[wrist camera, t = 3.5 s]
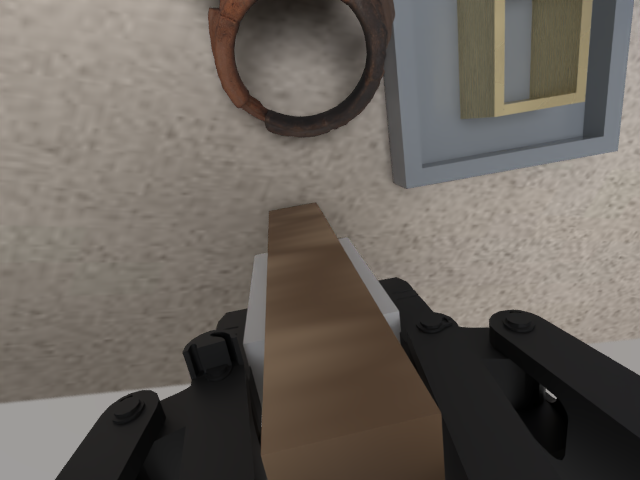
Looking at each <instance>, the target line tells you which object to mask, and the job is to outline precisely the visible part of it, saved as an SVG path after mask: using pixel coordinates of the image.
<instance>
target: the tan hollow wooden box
mask: <svg viewBox="0 0 640 480" xmlns="http://www.w3.org/2000/svg"><path fill="white" fill-rule="evenodd" d="M592 3H593V0H532V28H531V63H530V97H529V99H523V100H518V101H512V102H506V103H504V66H505V0H457V18H458V51H459V85H460V119H470V118H487V117H498V116H504V115H510V114H515V113H521V112H527V111H533V110H539V109H545V108H551V107H556V106H562V105H568V104H574V103H580V102H585V95H586V82H587V68H588V55H589V42H590V29H591V16H592Z"/></svg>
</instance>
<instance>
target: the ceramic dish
mask: <svg viewBox="0 0 640 480" xmlns="http://www.w3.org/2000/svg"><path fill="white" fill-rule="evenodd" d="M393 2H394V8H395V18H394V21H393V23H392V34H391V39H390V41H389V43H388V47H387V49H386V58H385V61H384V68H383V69H384V71H385V73H384V86H385V97H386V108H387V118H388V129H389V140H390V151H391V162H392V173H393V183H395V184H398V185H400V186H402V187H404V188H406V189H408V188H414V187H419V186H425V185H430V184H436V183H442V182H447V181H453V180H458V179H464V178H469V177H475V176H481V175H486V174H492V173H497V172H503V171H508V170H514V169H519V168H525V167H531V166H536V165H542V164H547V163H553V162H558V161H564V160H570V159H575V158H581V157H586V156H592V155H597V154H603V153H609V152H614V151H618V144H619V134H620V125H621V116H622V106H623V97H624V88H625V79H626V69H627V60H628V51H629V42H630V32H631V23H632V14H633V5H634V0H593V3H592V16H591V29H590V42H589V55H588V68H587V82H586V95H585V102H580V103H574V104H568V105H562V106H556V107H551V108H545V109H539V110H533V111H527V112H521V113H515V114H510V115H504V116H498V117H487V118H470V119H460V85H459V51H458V18H457V0H393ZM531 28H532V0H505V66H504V103H506V102H512V101H518V100H523V99H529V97H530V63H531Z"/></svg>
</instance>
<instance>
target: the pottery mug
mask: <svg viewBox="0 0 640 480" xmlns="http://www.w3.org/2000/svg"><path fill="white" fill-rule="evenodd" d="M257 1H258V0H220V7H219V8H209V12H208V20H209V34H210V38H211V47H212V52H213V56H214V59H215V65H216V69H217V73H218V76H219V79H220V81H221V84H222V87H223V89H224V90H225V92H226V93H227V95H228V96H229V98H230V99H231V101H232V102H233V103H234V105H235V106H236V107H237V108H242V109H244V110H245V111H246V112H248V113H249V114H251V115H253V116H254V117H256V118H258V119H260V120H263V121H265V125H266V128H267V129H268V131H270V132H272V133H275V134H280V135H283V136H294V137H313V136H317V135H321V134H324V133H328V132H329V131H330V130H332V129H337V128H339V127H341V126H344V125H346V124H347V123H348V122H349V121H351V120H352V119H353V118H355V117H356V116H357V115H359V114H360V113H361V112H362V111H363V110H364V109H365V107H366V106H367V104H368V103H369V102H370V101H371V99H372V98H373V96H374V94H375V92H376V90H377V89H378V87H379V85H380V80H381V78H382V76H383V75H384V73H385V71H384V69H383V68H384V61H385V58H386V49H387V47H388V43H389V41H390V39H391V34H392V23H393V21H394V18H395V8H394V2H393V0H341V1H342V2H344V3H345V4H346V5H348V6H349V7H350V8H351V9H352V11H353V12H354V14H355V15H356V17H357V18H358V20H359V22H360V24H361V26H362V29H363V32H364V35H365V41H366V51H367V57H366V65H365V69H364V71H363V74H362V76H361V79H360V81H359V82H358V84H357V86H356V87H355V89H354V90H353V92H352V93H351V94H350V95H349V96H348V97H347V98H346V99H345V100H344V101H343V102H342V103H340V104H339V105H338V106H336V107H334V108H332V109H330V110H328V111H326V112H323V113H320V114H317V115H312V116H304V117H301V116H300V117H296V116H289V115H284V114H280V113H277V112H275V111H272V110H268V109H266V108H265V107H263V106H262V104H261V103H260V101H258V100H257V99H255V98H253V97H252V96H250V95H249V91H248V90H247V88H246V87H245V86H244V84H243V82H242V80H241V78H240V76H239V73H238V71H237V67H236V63H235V53H234V47H235V38H236V34H237V32H238V29H239V24H240V21H241V19H242V18H243V16H244V15H245V13H246V12H247V11H248V10H249V8H250V7H251V6H252V5H253V4H254V3H255V2H257Z"/></svg>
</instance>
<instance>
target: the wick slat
mask: <svg viewBox="0 0 640 480" xmlns="http://www.w3.org/2000/svg"><path fill="white" fill-rule="evenodd" d="M261 458H262V462H263V465H264V469H265V472H266V476H267V479H268V480H445V469H444V451H443V434H442V417H441V411H440V410H439V408H438V406H437V405H436V403H435V401H434V400H433V398H432V396H431V395H430V393H429V391H428V390H427V388H426V386H425V385H424V383H423V381H422V380H421V378H420V376H419V375H418V373H417V371H416V369H415V368H414V366H413V364H412V363H411V361H410V359H409V358H408V356H407V354H406V353H405V351H404V349H403V348H402V346H401V344H400V343H399V341H398V339H397V338H396V336H395V334H394V332H393V331H392V329H391V327H390V326H389V324H388V322H387V321H386V319H385V317H384V316H383V314H382V312H381V311H380V309H379V307H378V306H377V304H376V302H375V301H374V299H373V297H372V295H371V294H370V292H369V290H368V289H367V287H366V285H365V284H364V282H363V280H362V279H361V277H360V275H359V274H358V272H357V270H356V269H355V267H354V265H353V264H352V262H351V260H350V259H349V257H348V255H347V253H346V252H345V250H344V248H343V247H342V245H341V243H340V242H339V240H338V238H337V237H336V235H335V233H334V232H333V230H332V228H331V227H330V225H329V223H328V222H327V220H326V218H325V216H324V215H323V213H322V211H321V210H320V208H319V206H318V205H317V203H310V204H305V205H300V206H294V207H289V208H283V209H278V210H272V211H269V229H268V258H267V287H266V316H265V345H264V374H263V403H262V432H261Z"/></svg>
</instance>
